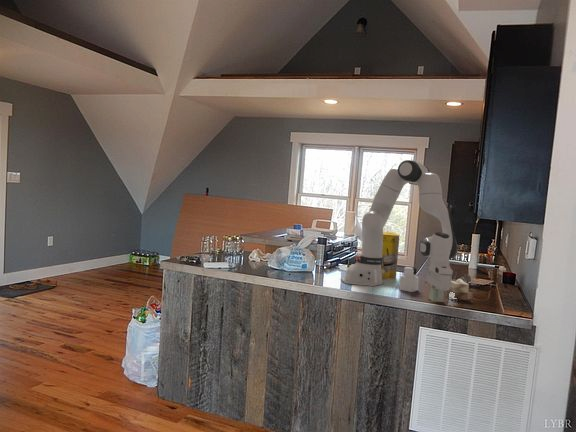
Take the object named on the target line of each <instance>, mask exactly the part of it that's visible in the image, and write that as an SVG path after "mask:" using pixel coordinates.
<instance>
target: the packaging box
mask: <svg viewBox="0 0 576 432" xmlns="http://www.w3.org/2000/svg"><path fill="white" fill-rule="evenodd" d="M399 246H400V235H399V234H397V233H396V232H390V231H383V251H382V257H383V264H382V268H381V271H382V279H387V280H388V279H389V280H391V279H392V280H396V279H397V273H398V272H397V271H398V270H397V269H398V257H399Z"/></svg>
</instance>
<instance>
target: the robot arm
mask: <svg viewBox="0 0 576 432" xmlns="http://www.w3.org/2000/svg"><path fill="white" fill-rule="evenodd" d="M407 184H409V185H415V186H417V187H418V203H419V204H418V205H419V207H420V208H421V210H423V211H424V212H425V213H427V214H428V215H431V216H433V217H434V218H437V219H438V221H439V222H440V225H441V230H442V232H440V231H439V232H435V233H433V234H432V236H428V237H424V238H422V239H421V240H420V242H419V246H418V249H419V250H418V251H419V252H420V254H421V256H423V257H426V258H430V259H429V265H428V266H429V268H428V269H427V272H426V283H428V284H430V289H438V294H437V297H438V298H441V297H442V293H443V291H444V292H448V291H449V289H450V285H451V281H452V275H453V272H454V271H453V268H452V267H451V266H450V259H451V260H452V259H453V258H454V257H455V256H456V255H457V253H458V252H459V246H458V242H457V239H456V236H455V231H454V226H453V221H452V216H451V211H450V209H449V206H446V204H445V203H444V199H443V190H442V183H441V180H440V176H439V175H438V174H437V173H433V172H431V171H430V170H429V168H428V167H427V166H426V165H424V164H422V163H420V162H417V161H415V160H413V159H406V160H403V161H401V162H400V163H399V165H398V166H397V167H392V168H391V169H389V170H388V172H387V174H386V175H385V176H384V177H383V179H382V182H380V186H379V187H378V189H377V192H376V193H375V195H374V197H373V200H372V202H371V206H370V209H369V210H368V211H367V212H366V213H365V214H364V215H363V216H362V218H361V219H362V221H361V223H362V224H361V225H362V226H361V236H362V237H361V238H362V241H361V253H360V255H357V254H356V255H355V257H354V258H355V259H356V263H353V264H352V265H351V266H349V267H347V269H346V271H345V276H341V277H340V281H341V282H343V284H344V283H345V284H346V285H347V284H348V285H358V286H367V287H368V286H371V287H377V286H380V285H383V283H384V281H383V278H382V271H381V268H382V264H383V257H382V251H383V232H384V227H385V226H386V224H387V222H388V219H389V218H390V215H391V213H392V210H393V208H394V206H395V204H396V201H397V200H398V198H399V197H400V194H401V191H402V190H403V188H404V187H405V185H407Z"/></svg>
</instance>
